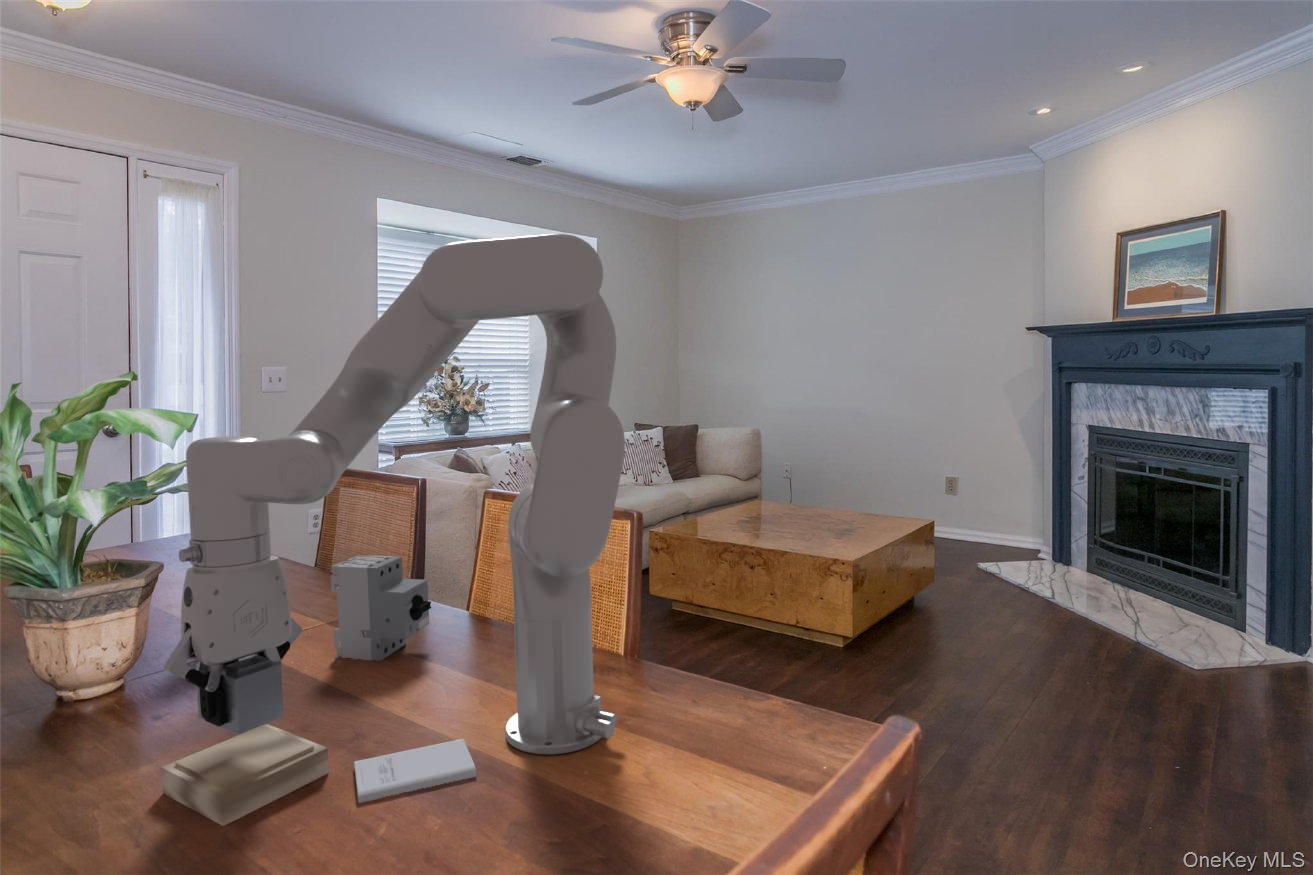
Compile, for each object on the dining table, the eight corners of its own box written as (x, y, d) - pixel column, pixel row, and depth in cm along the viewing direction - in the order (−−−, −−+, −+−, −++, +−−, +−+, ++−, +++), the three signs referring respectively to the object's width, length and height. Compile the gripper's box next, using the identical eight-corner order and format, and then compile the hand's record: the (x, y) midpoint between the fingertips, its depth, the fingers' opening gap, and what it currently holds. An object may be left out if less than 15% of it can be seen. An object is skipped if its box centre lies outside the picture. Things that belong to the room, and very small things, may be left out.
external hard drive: (476, 781, 87) (358, 808, 82) (463, 749, 95) (354, 772, 90) (476, 767, 87) (357, 793, 82) (463, 736, 94) (353, 758, 89)
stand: (328, 772, 88) (327, 744, 88) (223, 826, 78) (220, 793, 78) (268, 747, 95) (266, 720, 94) (163, 793, 85) (160, 763, 84)
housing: (283, 716, 86) (280, 656, 85) (238, 734, 82) (235, 671, 81) (243, 700, 90) (239, 643, 89) (198, 717, 86) (194, 657, 85)
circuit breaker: (416, 663, 122) (412, 569, 120) (335, 658, 124) (330, 566, 123) (439, 646, 129) (435, 557, 128) (362, 641, 132) (357, 555, 130)
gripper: (165, 572, 75) (177, 753, 77) (323, 539, 89) (330, 692, 91) (128, 563, 79) (140, 735, 81) (285, 533, 93) (292, 679, 95)
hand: (241, 710), depth 86 cm, fingers closed on housing, 5 cm apart
